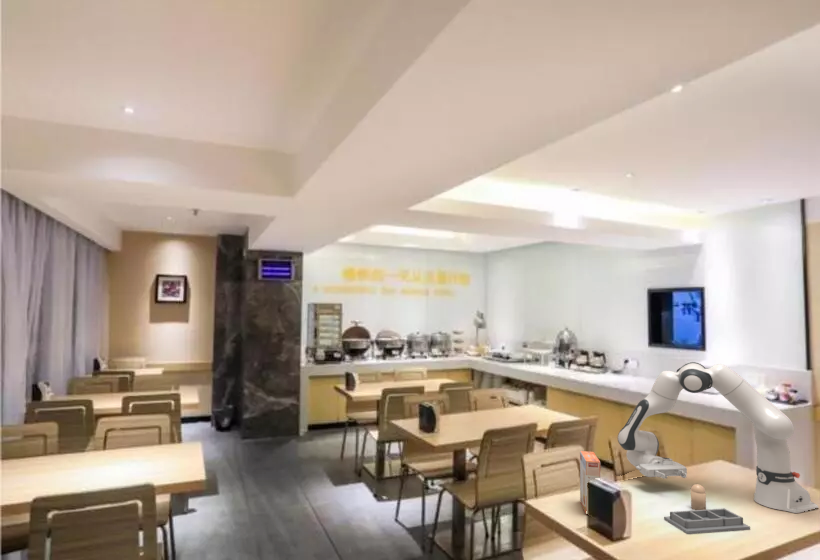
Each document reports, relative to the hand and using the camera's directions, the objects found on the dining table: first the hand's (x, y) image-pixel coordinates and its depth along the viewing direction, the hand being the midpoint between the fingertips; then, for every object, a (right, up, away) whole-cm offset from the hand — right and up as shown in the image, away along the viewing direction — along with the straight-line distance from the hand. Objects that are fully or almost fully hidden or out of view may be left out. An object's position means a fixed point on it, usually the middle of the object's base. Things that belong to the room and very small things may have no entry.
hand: (675, 476), depth 204 cm
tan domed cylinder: (+2, -8, -13) cm, 15 cm away
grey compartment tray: (-4, -7, -27) cm, 28 cm away
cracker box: (-42, -7, -14) cm, 45 cm away
